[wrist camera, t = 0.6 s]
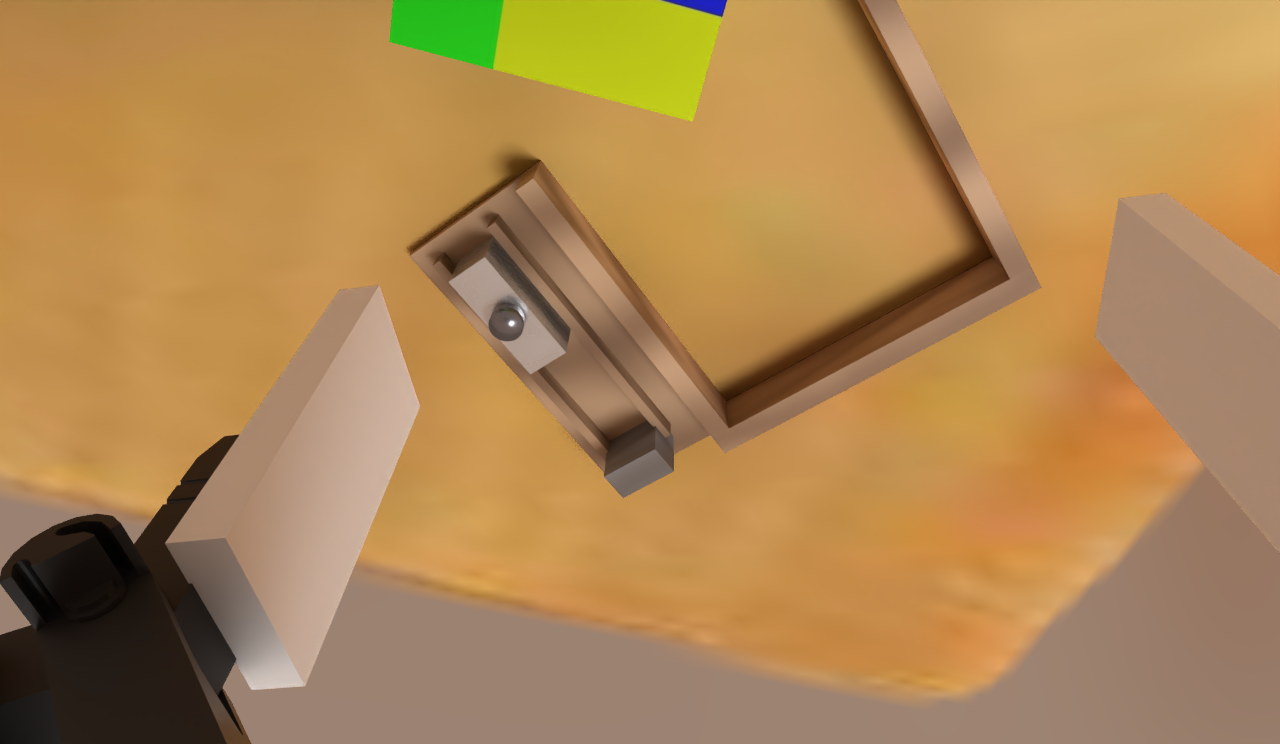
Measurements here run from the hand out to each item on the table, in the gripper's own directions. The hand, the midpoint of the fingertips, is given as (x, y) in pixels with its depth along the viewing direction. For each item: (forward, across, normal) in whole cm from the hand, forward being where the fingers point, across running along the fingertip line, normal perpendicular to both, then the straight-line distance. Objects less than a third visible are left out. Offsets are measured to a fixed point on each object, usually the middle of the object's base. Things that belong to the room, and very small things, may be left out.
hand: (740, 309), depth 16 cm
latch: (+24, -10, -11) cm, 28 cm away
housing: (+24, 0, -10) cm, 26 cm away
